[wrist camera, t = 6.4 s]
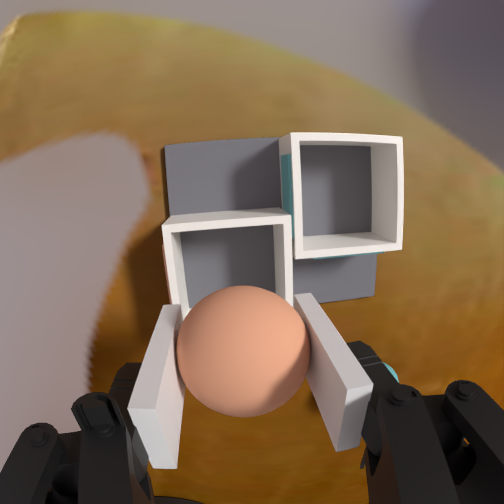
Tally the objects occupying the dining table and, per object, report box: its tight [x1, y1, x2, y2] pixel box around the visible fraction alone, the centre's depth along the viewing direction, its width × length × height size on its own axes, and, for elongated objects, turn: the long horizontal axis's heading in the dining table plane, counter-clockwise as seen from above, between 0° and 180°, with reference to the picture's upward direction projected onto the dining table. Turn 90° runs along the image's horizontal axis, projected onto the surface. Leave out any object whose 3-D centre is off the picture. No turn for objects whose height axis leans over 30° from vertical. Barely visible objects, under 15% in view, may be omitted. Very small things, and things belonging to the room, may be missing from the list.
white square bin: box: [278, 133, 404, 259], centre depth 21 cm, size 8×8×4 cm
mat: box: [165, 137, 377, 308], centre depth 23 cm, size 16×13×1 cm
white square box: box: [162, 207, 293, 321], centre depth 22 cm, size 8×8×4 cm
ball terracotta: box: [176, 286, 311, 417], centre depth 11 cm, size 5×5×5 cm
